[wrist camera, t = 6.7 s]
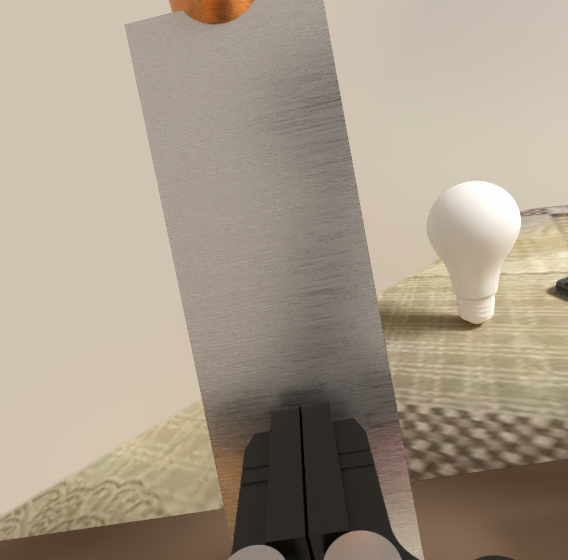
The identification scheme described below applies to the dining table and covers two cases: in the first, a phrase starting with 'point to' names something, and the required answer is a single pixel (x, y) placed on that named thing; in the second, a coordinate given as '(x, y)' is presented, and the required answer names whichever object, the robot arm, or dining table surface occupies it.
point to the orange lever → (267, 229)
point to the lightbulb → (474, 242)
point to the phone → (562, 287)
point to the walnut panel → (429, 512)
